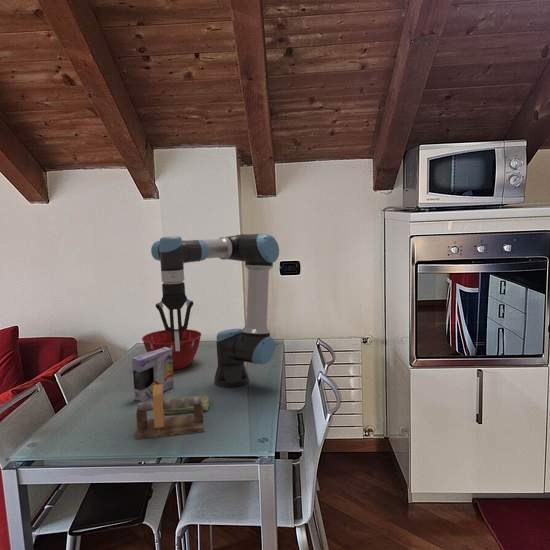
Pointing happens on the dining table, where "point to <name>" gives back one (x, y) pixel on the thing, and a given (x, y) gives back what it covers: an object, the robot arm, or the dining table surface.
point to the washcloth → (187, 409)
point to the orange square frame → (158, 406)
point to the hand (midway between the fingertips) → (177, 350)
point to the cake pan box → (152, 372)
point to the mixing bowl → (164, 340)
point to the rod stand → (170, 418)
